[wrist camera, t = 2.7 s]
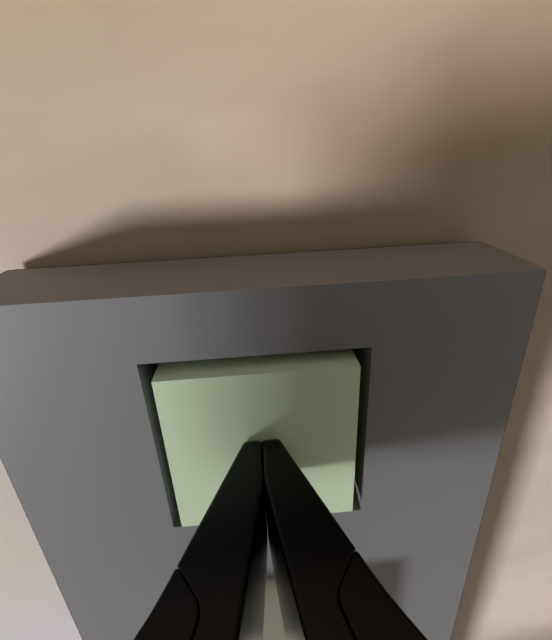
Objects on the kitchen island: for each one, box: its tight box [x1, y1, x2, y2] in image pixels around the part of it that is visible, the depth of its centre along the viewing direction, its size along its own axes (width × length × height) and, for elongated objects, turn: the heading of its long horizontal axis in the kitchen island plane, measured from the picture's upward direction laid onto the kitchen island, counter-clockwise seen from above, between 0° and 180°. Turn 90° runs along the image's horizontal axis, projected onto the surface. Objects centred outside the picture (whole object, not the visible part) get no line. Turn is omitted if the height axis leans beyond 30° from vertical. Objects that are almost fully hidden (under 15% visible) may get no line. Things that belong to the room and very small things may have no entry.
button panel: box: [0, 241, 546, 640], centre depth 14 cm, size 23×12×2 cm, turn 2°
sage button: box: [151, 349, 361, 527], centre depth 10 cm, size 4×4×2 cm
